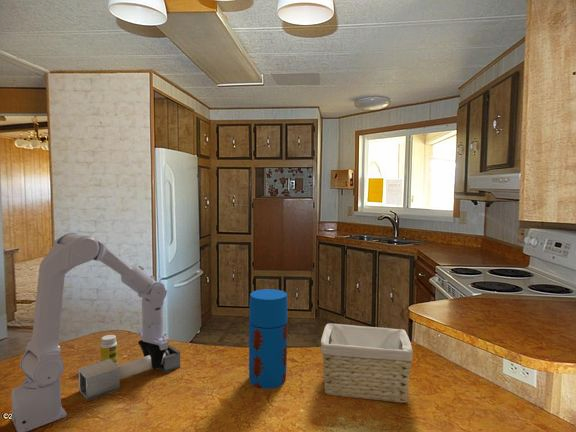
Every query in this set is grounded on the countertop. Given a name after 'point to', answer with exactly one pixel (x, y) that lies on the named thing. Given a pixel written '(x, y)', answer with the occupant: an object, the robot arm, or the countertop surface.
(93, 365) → the sleeve
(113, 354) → the supplement bottle
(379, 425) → the countertop surface
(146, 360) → the tube
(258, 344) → the thermos
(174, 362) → the socket
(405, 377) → the storage basket
